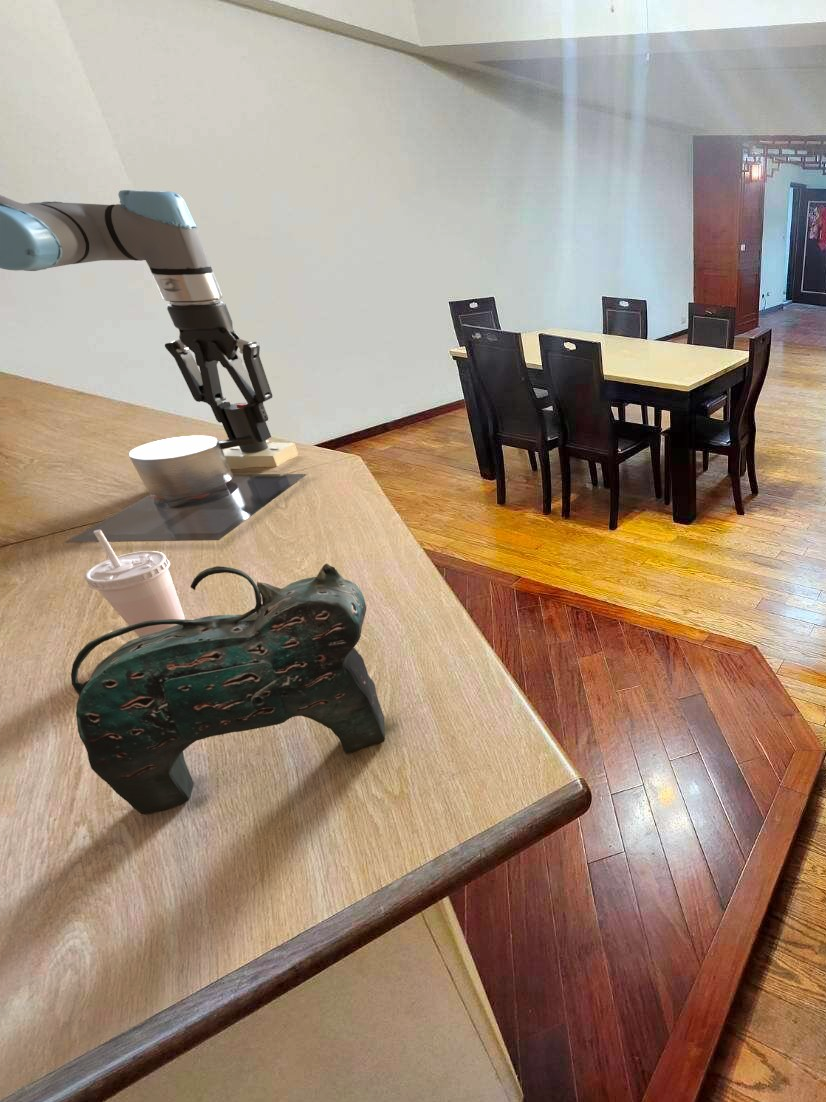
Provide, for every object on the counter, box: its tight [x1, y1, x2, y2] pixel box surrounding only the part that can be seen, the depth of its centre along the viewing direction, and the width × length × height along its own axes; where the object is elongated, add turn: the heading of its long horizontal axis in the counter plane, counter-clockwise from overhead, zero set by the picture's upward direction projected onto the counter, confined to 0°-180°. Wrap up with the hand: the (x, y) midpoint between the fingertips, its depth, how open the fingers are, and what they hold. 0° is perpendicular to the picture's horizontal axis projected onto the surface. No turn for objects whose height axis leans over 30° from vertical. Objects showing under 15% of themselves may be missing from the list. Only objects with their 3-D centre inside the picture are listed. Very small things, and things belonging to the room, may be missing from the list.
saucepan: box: [128, 435, 254, 502], centre depth 98 cm, size 16×11×7 cm
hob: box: [65, 473, 308, 543], centre depth 93 cm, size 20×24×1 cm
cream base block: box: [222, 440, 299, 470], centre depth 109 cm, size 10×8×3 cm
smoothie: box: [84, 530, 186, 638], centre depth 63 cm, size 6×6×14 cm
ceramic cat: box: [70, 563, 386, 815], centre depth 47 cm, size 20×6×20 cm, turn 118°
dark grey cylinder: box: [224, 402, 268, 453], centre depth 106 cm, size 4×4×8 cm
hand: (250, 439), depth 107 cm, fingers closed on dark grey cylinder, 4 cm apart
